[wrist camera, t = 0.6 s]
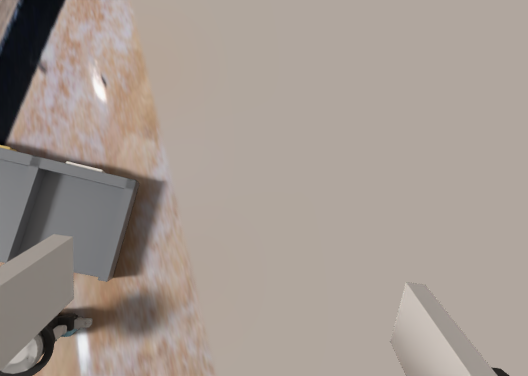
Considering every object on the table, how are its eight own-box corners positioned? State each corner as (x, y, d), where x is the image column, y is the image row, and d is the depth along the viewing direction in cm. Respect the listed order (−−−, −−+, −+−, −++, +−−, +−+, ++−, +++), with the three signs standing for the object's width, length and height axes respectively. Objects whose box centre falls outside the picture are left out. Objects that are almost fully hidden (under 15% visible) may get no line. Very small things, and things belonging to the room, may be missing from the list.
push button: (94, 298, 42) (66, 318, 32) (92, 344, 41) (62, 380, 31) (32, 300, 40) (-17, 323, 31) (28, 348, 40) (-23, 387, 30)
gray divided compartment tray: (112, 278, 42) (107, 281, 39) (-94, 239, 38) (-116, 239, 35) (139, 181, 44) (136, 178, 41) (-53, 134, 40) (-72, 127, 37)
